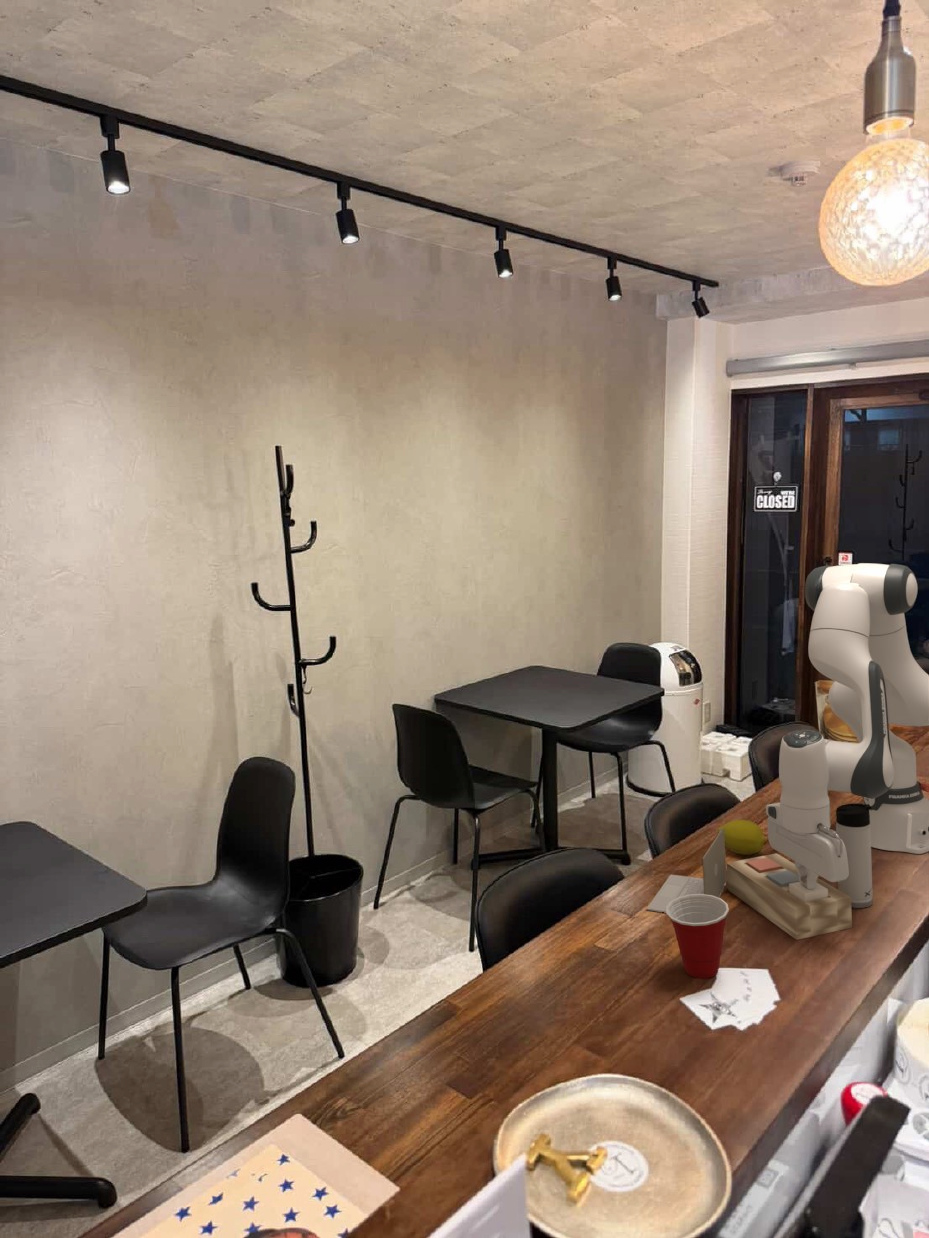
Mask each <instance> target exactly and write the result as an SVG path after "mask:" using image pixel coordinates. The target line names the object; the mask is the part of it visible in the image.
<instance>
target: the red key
mask: <svg viewBox="0 0 929 1238" xmlns="http://www.w3.org/2000/svg"><path fill="white" fill-rule="evenodd" d="M746 863H747V866H749V867H751V868H752V869H754V870H755V871H757V872H758V873H763V872H768V871H773V870H779V869H782V868H781V866H780V865H779V864H777V863H776V862H774V861H772V860H771V859H769V858H763V859H757V860H752V861H747V862H746Z"/></svg>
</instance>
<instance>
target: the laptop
mask: <svg viewBox="0 0 929 1238" xmlns="http://www.w3.org/2000/svg"><path fill="white" fill-rule="evenodd" d="M701 860H702V861H701V862H702V877H703V878H701V877H700V878H699V877H694V876H693V877H692V876H685V875H679V874H678V875H677V874H669V876H668V877H667V879H666V880H665V882H664V883H663V885H662V886H661V887H660V889H659V890H658V892H656V894H655V896H654V897H653V898H652V900H651V901H650V903H649V904H648V905H647V907H646V910H647V911H652V912H658V913H662V912H664V913H663V914H667V913H666V907H667V905H668V904H669V903H670V902H671V901H672V900H674V899H676V898H678V897H681V896H685V895H691V894H705V895H713V896H715V897H718V898H720V897H721V894H722V893H723V891H724V889H725V887H726V886H727V883H728V881H727V862H726V860H727V858H726V845H725V840H724V827H723V828H722V829H721V831H720V832H719V834H717V835H716V836H715V838H714V840H713V841H712V843H711V845H710V846H709V847H708V849H707V851H706V852H705V854H704V855H703V857H702V858H701ZM724 886H725V887H724ZM721 892H722V893H721Z"/></svg>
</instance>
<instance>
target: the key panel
mask: <svg viewBox="0 0 929 1238" xmlns="http://www.w3.org/2000/svg"><path fill="white" fill-rule="evenodd" d="M763 858H769V859H771V860H772V861H774V862H776V863H777V864H779V865H780V866H781V868H782V869H779V870H773V871H768V872H763V873H758V872H757V871H755V870H754V869H752V868H751V867H749V866H747V863H746V862H747V861H752V860H757V859H763ZM788 870H789V871H791V872H792V873H794V874H795V875H797V876H799V875H798V872H797V870H796V867H795V864H794V862H792V861H790V860H788V859H787V858H786V857H783V856H782V855H781V854H779V853H777V852H776V853H772V854H767V855H761V856H755V857H750V858H745V859H740V860H735V861H730V862H726V877H727V890H728V891H729V892H730V893H731V894H733V895H734V896H735V897H737V898H738V899H740V900H741V901H743V902H744V903H745V904H746V905H748V906H750V908H752V909H753V910H754V911H756V912H757V913H759V914H760V915H762V917H763V916H764V918H766V919H767V920H768V921H770V922H771V923H773V924H774V925H775V926H777V927H778V928H779V929H780V930H782V931H784V932H785V933H786V934H787V935H789V936H791V937H792V938H793V939H794V940H796V941H798V940H802V939H808V938H811V937H816V936H821V935H825V934H829V933H830V934H831V933H833V932H835V933H836V932H838V931H843V930H847V929H852V928H853V917H852V916H853V915H852V907H851V897H849V896H848V895H846V894H844V893H843V892H841V891H839V890H838V888H836V887H834V886H833V885H831V884H830V883H827V882H826V881H824V880H822V879H820V878H819V877H818V878H817V880H816V882H817V883H818V884H820V885H822V886H823V887H825V888H827V889H828V898H825V899H820V900H815V901H810V902H805V903H804V902H803V901H801V900H800V899H798V898H797V897H795V896H793V895H792V894H790V893H789V886H785V887H780V886H778V885H777V884H775V883H774V882H772V881H770V880H769V879H767V874H773V873H778V872H783V871H788Z"/></svg>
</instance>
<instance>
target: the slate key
mask: <svg viewBox="0 0 929 1238" xmlns="http://www.w3.org/2000/svg"><path fill="white" fill-rule="evenodd" d="M767 879H769V880H770V881H772V882H774V883H775V884H777V885H778V886H780V887H785V886H789V884H790V883H795V882H799V876H797V875H795V874H794V873H792V872H791V871H789V870H788V871H783V872H778V873H773V874H767Z"/></svg>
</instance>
